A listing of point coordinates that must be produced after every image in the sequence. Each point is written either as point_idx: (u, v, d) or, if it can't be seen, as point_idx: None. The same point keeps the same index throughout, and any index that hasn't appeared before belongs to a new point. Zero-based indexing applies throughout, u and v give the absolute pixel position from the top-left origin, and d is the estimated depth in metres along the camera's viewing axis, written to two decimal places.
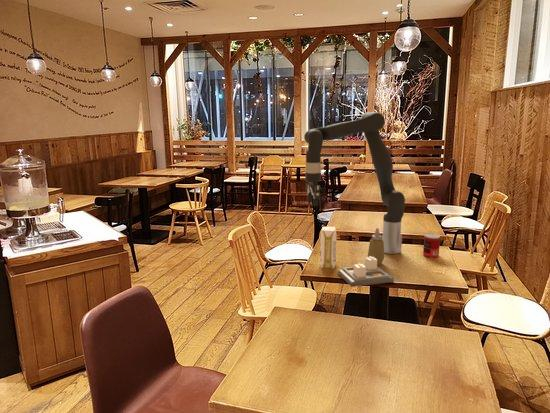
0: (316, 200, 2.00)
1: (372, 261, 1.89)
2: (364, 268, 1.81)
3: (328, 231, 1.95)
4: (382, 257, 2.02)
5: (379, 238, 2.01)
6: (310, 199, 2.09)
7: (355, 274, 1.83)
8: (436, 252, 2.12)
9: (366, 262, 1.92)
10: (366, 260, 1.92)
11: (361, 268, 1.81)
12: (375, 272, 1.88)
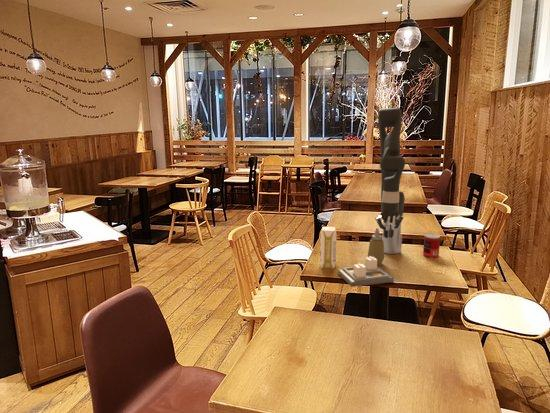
0: None
1: (372, 261, 1.89)
2: (364, 268, 1.81)
3: (328, 231, 1.95)
4: (382, 257, 2.02)
5: (379, 238, 2.01)
6: None
7: (355, 274, 1.83)
8: (436, 252, 2.12)
9: (366, 262, 1.92)
10: (366, 260, 1.92)
11: (361, 268, 1.81)
12: (375, 272, 1.88)
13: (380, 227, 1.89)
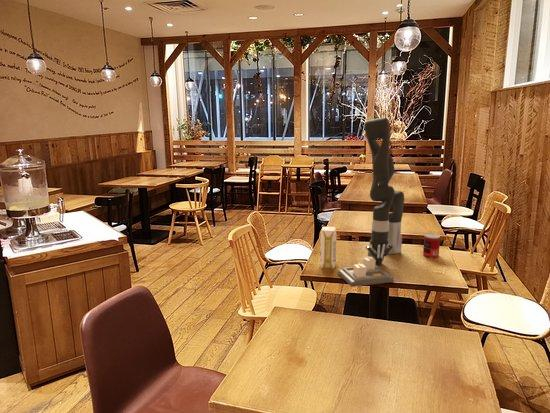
0: None
1: (370, 261, 1.89)
2: (364, 268, 1.81)
3: (328, 231, 1.95)
4: None
5: None
6: None
7: (355, 274, 1.83)
8: (436, 252, 2.12)
9: (364, 262, 1.92)
10: (364, 260, 1.92)
11: (361, 268, 1.81)
12: (375, 272, 1.88)
13: (372, 255, 1.91)
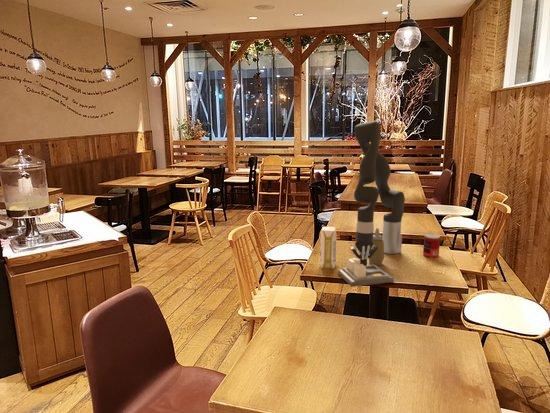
0: None
1: (355, 263, 1.87)
2: (364, 268, 1.81)
3: (328, 231, 1.95)
4: (382, 257, 2.02)
5: (379, 238, 2.01)
6: None
7: (355, 274, 1.83)
8: (436, 252, 2.12)
9: (349, 264, 1.90)
10: (349, 262, 1.90)
11: (361, 268, 1.81)
12: (375, 272, 1.88)
13: (356, 256, 1.90)
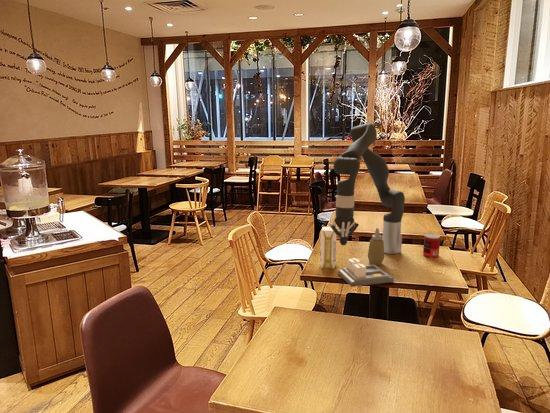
0: None
1: (355, 263, 1.87)
2: (364, 268, 1.81)
3: (328, 231, 1.95)
4: (382, 257, 2.02)
5: (379, 238, 2.01)
6: None
7: (355, 274, 1.83)
8: (436, 252, 2.12)
9: (349, 264, 1.90)
10: (349, 262, 1.90)
11: (361, 268, 1.81)
12: (375, 272, 1.88)
13: (336, 234, 1.77)
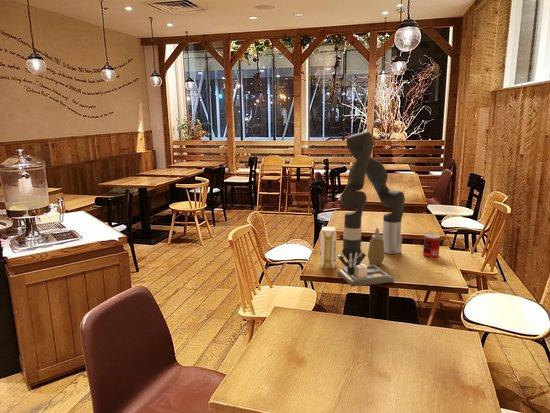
0: None
1: None
2: (365, 268, 1.81)
3: (328, 231, 1.95)
4: (382, 257, 2.02)
5: (379, 238, 2.01)
6: None
7: (356, 274, 1.83)
8: (436, 252, 2.12)
9: None
10: None
11: (362, 268, 1.81)
12: (375, 272, 1.88)
13: None
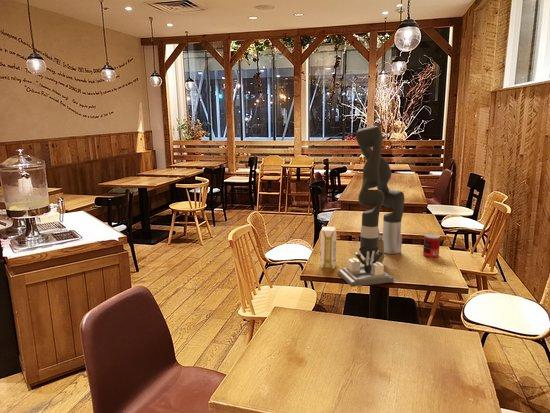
0: None
1: (355, 263, 1.87)
2: (382, 266, 1.83)
3: (328, 231, 1.95)
4: (382, 257, 2.02)
5: (379, 238, 2.01)
6: None
7: (373, 272, 1.85)
8: (436, 252, 2.12)
9: (349, 264, 1.90)
10: (349, 262, 1.90)
11: (379, 266, 1.83)
12: None
13: (361, 262, 1.83)
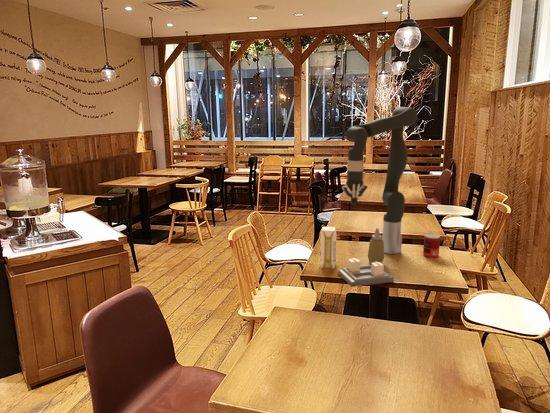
0: (356, 199, 2.02)
1: (355, 263, 1.87)
2: (382, 266, 1.83)
3: (328, 231, 1.95)
4: (382, 257, 2.02)
5: (379, 238, 2.01)
6: None
7: (373, 272, 1.85)
8: (436, 252, 2.12)
9: (349, 264, 1.90)
10: (349, 262, 1.90)
11: (379, 266, 1.83)
12: None
13: (347, 195, 2.01)
